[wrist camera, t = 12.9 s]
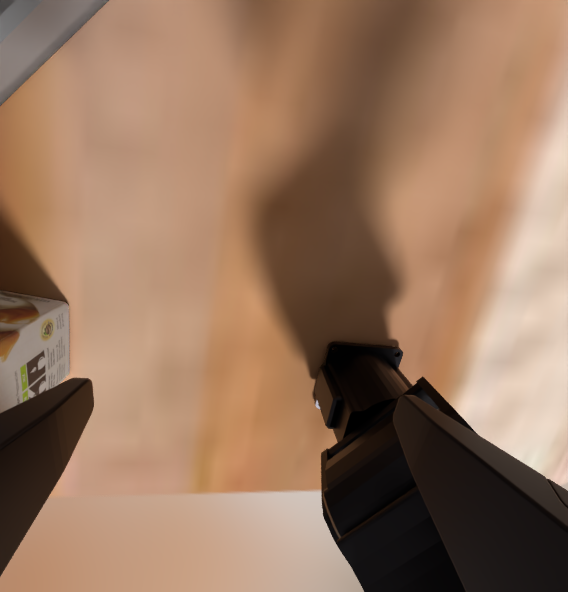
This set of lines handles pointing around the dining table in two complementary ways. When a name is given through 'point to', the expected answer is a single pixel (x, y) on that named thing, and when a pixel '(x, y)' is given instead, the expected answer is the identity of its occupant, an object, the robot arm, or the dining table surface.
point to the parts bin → (36, 35)
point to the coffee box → (31, 346)
